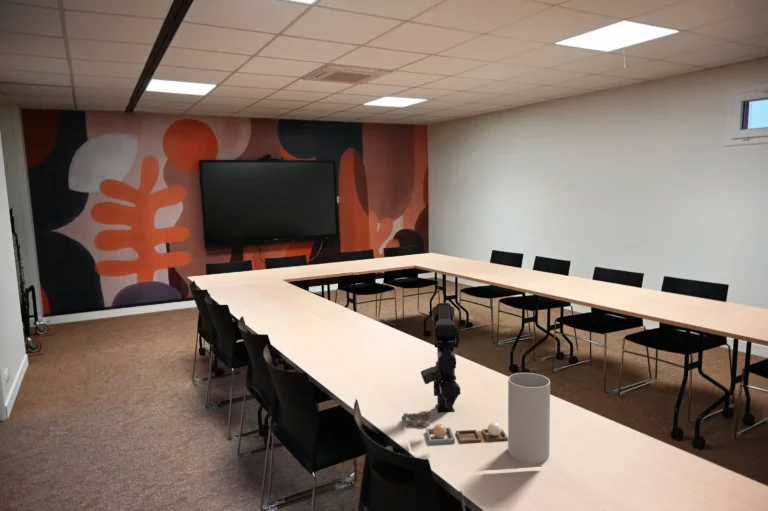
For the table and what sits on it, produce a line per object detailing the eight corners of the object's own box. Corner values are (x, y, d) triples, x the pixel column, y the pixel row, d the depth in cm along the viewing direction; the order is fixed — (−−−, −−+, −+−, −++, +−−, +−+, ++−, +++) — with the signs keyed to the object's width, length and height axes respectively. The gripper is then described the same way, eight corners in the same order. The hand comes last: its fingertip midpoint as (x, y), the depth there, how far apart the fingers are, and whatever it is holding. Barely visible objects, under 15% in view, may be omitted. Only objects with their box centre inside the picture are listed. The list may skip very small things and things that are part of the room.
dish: (426, 435, 174) (425, 428, 174) (450, 433, 175) (449, 427, 174) (429, 447, 166) (429, 440, 166) (454, 445, 166) (454, 439, 166)
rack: (455, 435, 174) (455, 430, 173) (501, 432, 174) (501, 427, 174) (460, 446, 166) (460, 441, 165) (508, 443, 166) (508, 438, 166)
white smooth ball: (486, 432, 172) (486, 420, 172) (499, 432, 173) (499, 419, 172) (489, 439, 168) (489, 426, 167) (503, 438, 168) (503, 425, 167)
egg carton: (433, 422, 184) (433, 411, 184) (428, 431, 177) (428, 420, 177) (405, 418, 188) (405, 408, 187) (399, 427, 181) (399, 417, 180)
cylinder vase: (557, 462, 155) (558, 384, 151) (521, 469, 151) (522, 390, 148) (534, 443, 166) (535, 370, 163) (500, 449, 163) (500, 375, 160)
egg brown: (432, 436, 172) (431, 422, 173) (445, 435, 173) (445, 422, 173) (434, 440, 168) (433, 426, 168) (448, 439, 168) (447, 425, 168)
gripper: (419, 352, 177) (419, 394, 179) (425, 371, 159) (426, 418, 161) (450, 350, 178) (450, 392, 180) (460, 369, 159) (461, 416, 161)
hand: (446, 404), depth 170 cm, fingers open, 9 cm apart
